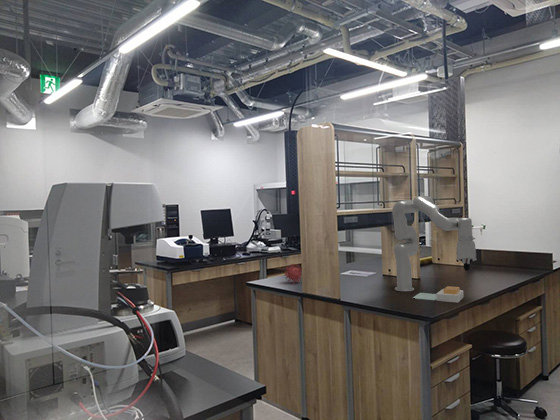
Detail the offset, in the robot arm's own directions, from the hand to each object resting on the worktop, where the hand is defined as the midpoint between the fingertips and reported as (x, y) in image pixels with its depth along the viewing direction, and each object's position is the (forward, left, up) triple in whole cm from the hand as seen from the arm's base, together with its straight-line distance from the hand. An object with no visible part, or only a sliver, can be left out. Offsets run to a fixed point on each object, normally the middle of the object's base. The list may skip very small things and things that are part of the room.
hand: (466, 270), depth 241 cm
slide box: (0, -9, -12) cm, 15 cm away
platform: (0, -10, -18) cm, 20 cm away
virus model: (-7, -124, -18) cm, 125 cm away
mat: (0, -23, -18) cm, 29 cm away
